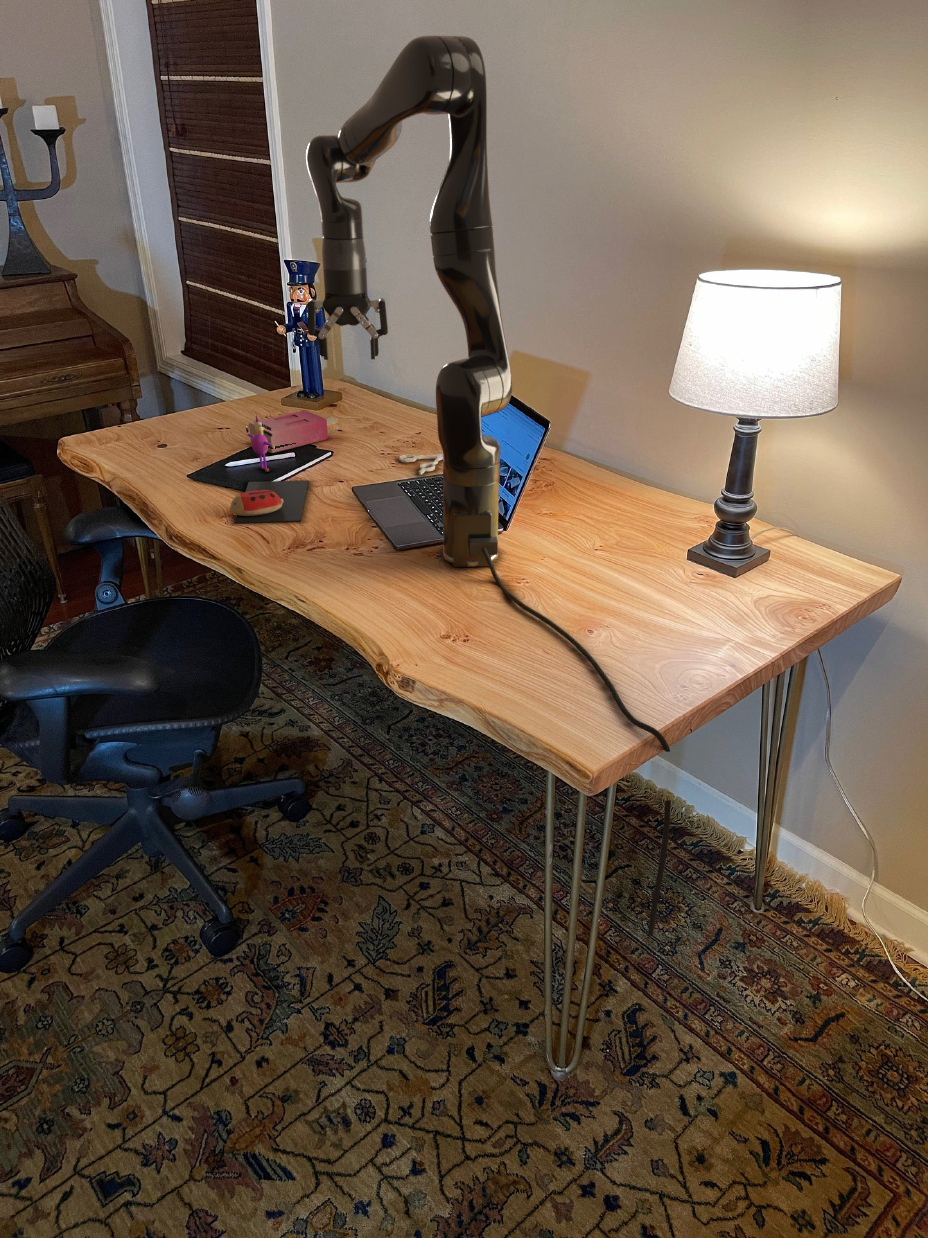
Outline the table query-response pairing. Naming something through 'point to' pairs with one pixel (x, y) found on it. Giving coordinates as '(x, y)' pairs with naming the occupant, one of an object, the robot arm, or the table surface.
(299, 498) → the desk pad
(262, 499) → the ladybug figurine
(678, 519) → the table surface
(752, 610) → the table surface
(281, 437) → the popsicle
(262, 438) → the wizard figurine
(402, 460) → the scissors
